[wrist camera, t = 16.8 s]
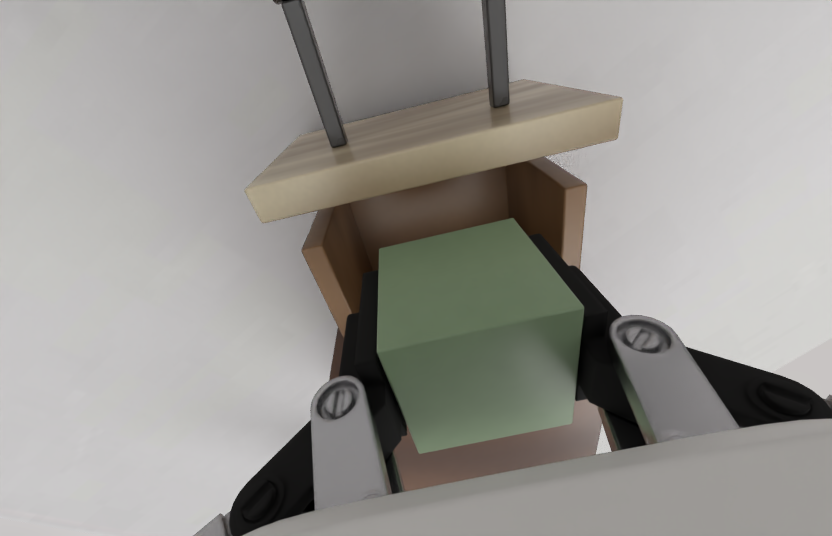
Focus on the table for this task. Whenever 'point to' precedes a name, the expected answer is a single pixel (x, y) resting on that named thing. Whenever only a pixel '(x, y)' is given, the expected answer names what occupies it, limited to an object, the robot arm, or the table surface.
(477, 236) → the block
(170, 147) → the table surface
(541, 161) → the drawer
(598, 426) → the cabinet
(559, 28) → the table surface
